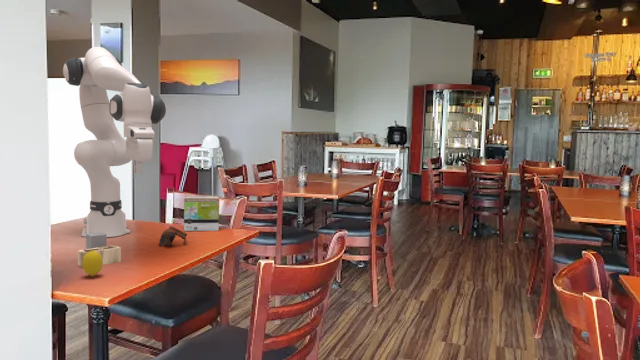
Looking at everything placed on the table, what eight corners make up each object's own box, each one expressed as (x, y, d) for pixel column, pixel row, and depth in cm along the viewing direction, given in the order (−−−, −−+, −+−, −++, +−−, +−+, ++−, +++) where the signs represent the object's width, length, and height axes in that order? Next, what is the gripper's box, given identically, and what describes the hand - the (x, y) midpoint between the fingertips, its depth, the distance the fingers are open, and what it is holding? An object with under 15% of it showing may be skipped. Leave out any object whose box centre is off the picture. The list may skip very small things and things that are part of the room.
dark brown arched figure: (159, 243, 201) (169, 225, 203) (180, 254, 201) (191, 235, 203) (153, 242, 189) (164, 222, 191) (176, 254, 190) (187, 234, 191)
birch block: (114, 259, 174) (77, 265, 166) (114, 244, 174) (77, 249, 165) (121, 262, 171) (83, 268, 162) (120, 247, 170) (83, 252, 162)
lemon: (86, 274, 156) (85, 247, 155) (105, 274, 156) (105, 248, 156) (79, 279, 150) (79, 252, 150) (99, 279, 151) (98, 252, 150)
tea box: (183, 231, 223) (183, 197, 221) (184, 227, 232) (184, 194, 231) (219, 231, 226) (219, 197, 225) (218, 226, 236) (218, 194, 235)
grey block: (86, 257, 176) (86, 233, 176) (101, 254, 180) (101, 232, 179) (91, 259, 173) (91, 236, 172) (106, 257, 176) (106, 234, 175)
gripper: (120, 131, 179) (121, 171, 180) (135, 132, 162) (136, 176, 163) (139, 131, 182) (139, 170, 184) (156, 132, 165) (156, 175, 167)
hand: (138, 173), depth 173 cm, fingers closed
